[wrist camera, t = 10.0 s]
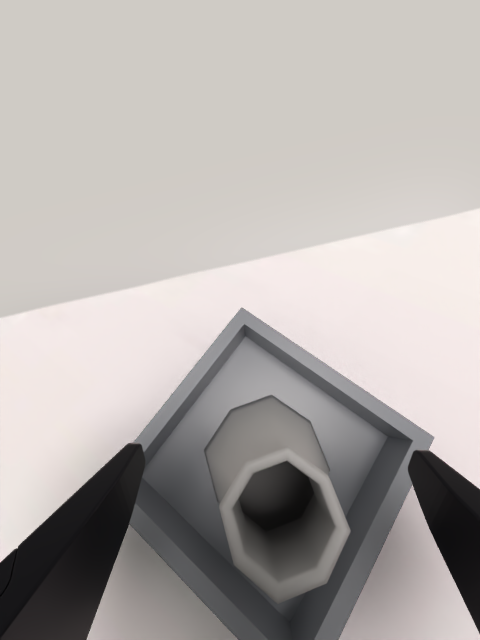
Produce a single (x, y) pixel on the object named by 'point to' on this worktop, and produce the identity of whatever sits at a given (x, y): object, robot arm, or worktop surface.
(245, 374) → the box
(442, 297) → the worktop surface
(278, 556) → the flask
